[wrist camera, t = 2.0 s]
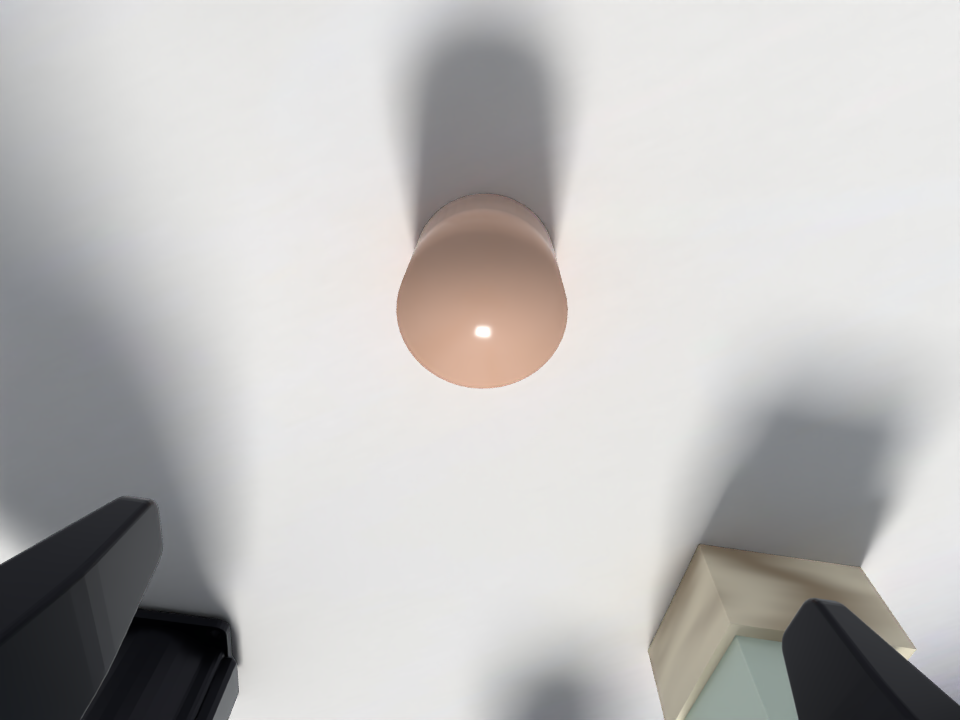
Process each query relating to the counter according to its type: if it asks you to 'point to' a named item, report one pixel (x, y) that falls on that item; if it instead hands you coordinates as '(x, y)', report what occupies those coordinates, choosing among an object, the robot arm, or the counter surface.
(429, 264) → the peach rounded cylinder
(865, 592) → the tower base
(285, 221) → the counter surface
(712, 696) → the tower top
